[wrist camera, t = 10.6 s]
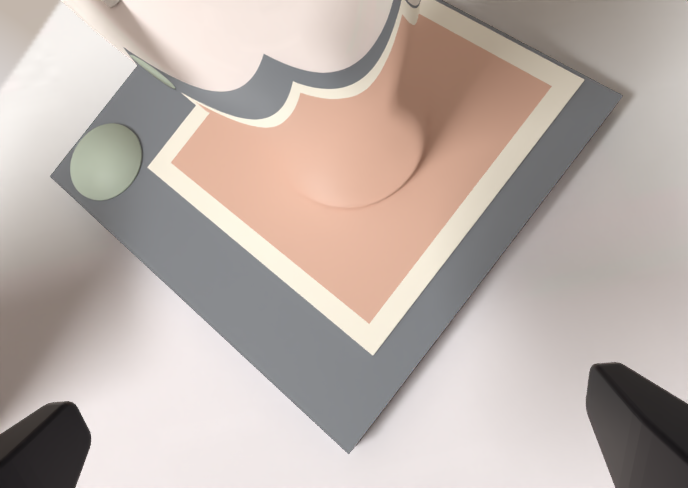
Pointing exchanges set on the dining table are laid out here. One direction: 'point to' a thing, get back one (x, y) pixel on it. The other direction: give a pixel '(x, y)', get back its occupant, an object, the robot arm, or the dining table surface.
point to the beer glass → (290, 80)
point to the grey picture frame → (340, 215)
